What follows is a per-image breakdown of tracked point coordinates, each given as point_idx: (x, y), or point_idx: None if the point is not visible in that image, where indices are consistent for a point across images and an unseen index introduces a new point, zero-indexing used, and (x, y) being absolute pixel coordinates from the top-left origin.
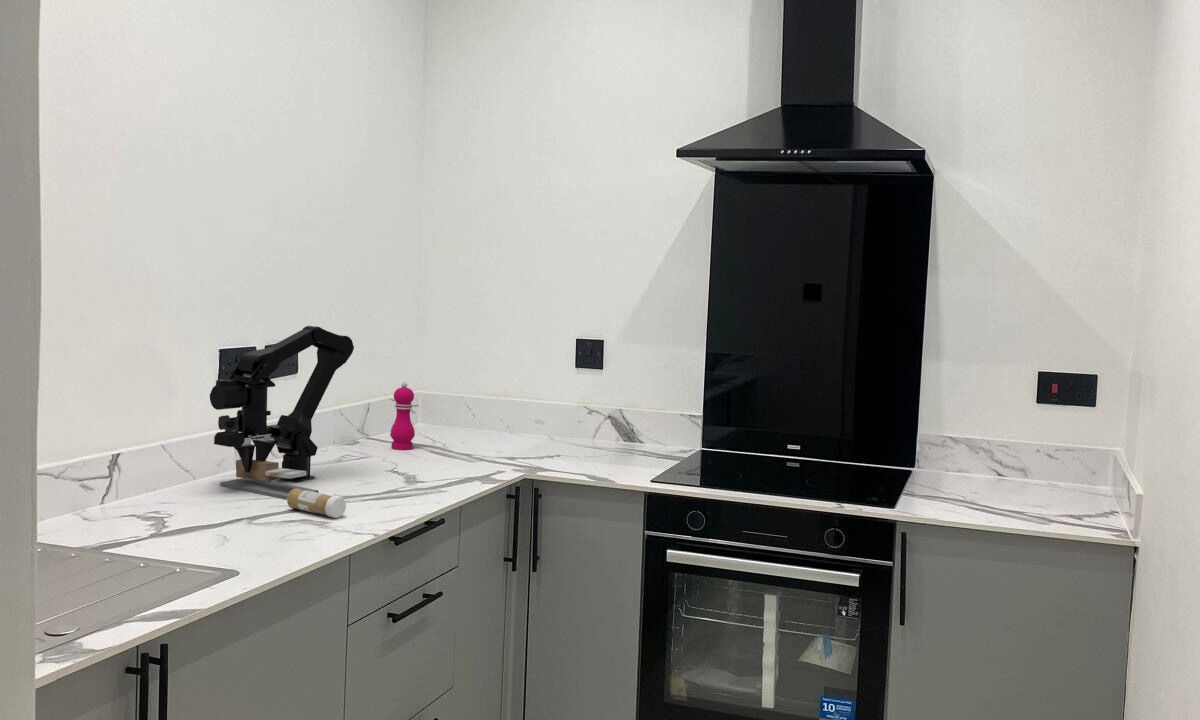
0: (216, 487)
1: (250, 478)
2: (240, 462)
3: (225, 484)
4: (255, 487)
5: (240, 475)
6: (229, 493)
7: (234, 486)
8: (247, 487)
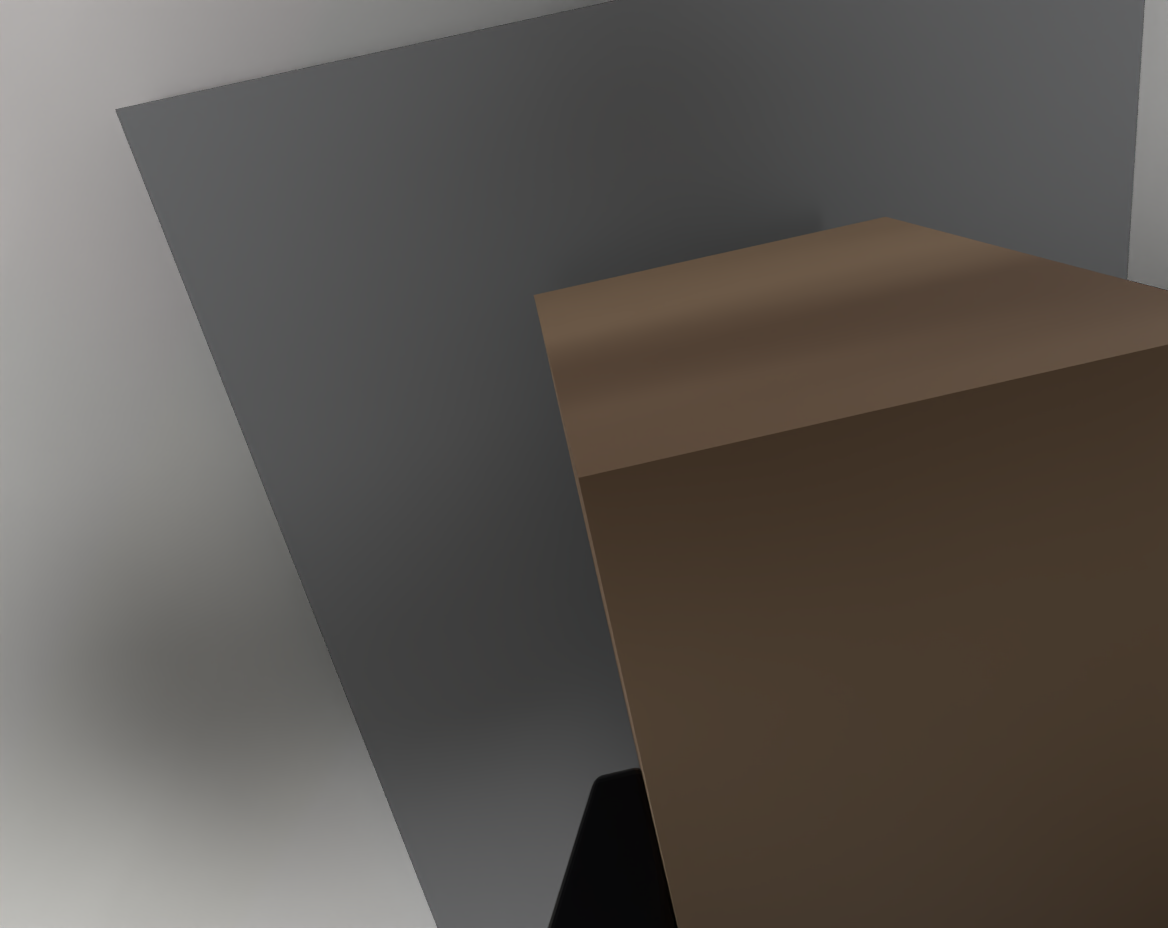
0: (14, 242)
1: (638, 761)
2: (632, 721)
3: (210, 326)
4: (554, 900)
5: (575, 480)
6: (93, 824)
7: (312, 593)
8: (440, 850)
